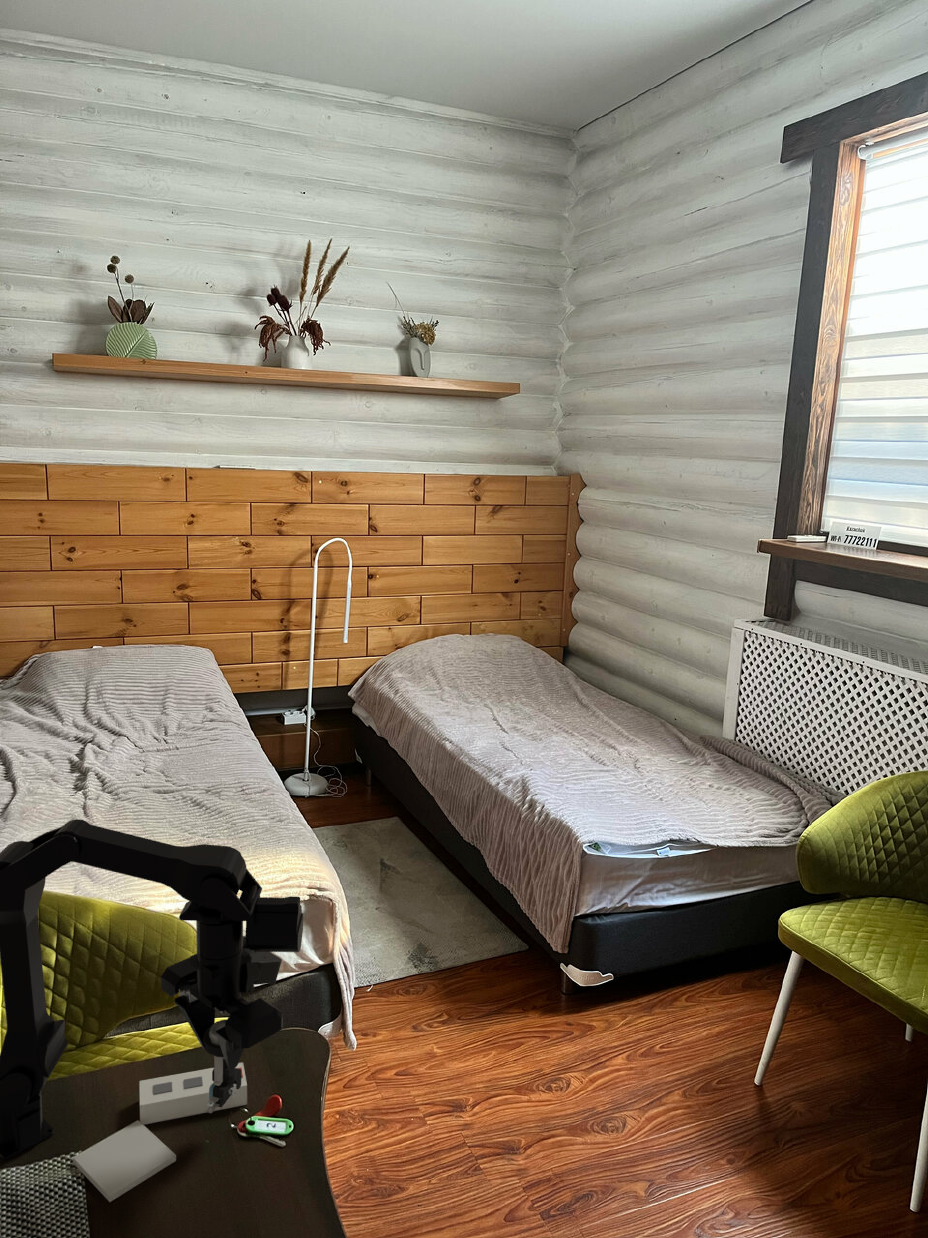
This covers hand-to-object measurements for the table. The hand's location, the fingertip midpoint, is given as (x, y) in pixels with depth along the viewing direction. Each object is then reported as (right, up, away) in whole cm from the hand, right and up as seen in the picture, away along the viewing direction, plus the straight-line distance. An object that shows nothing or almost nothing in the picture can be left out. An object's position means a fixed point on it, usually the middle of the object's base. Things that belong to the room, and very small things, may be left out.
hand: (220, 1058), depth 119 cm
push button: (0, -6, +1) cm, 6 cm away
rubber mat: (-11, -12, -3) cm, 17 cm away
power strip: (-6, -10, +8) cm, 14 cm away
